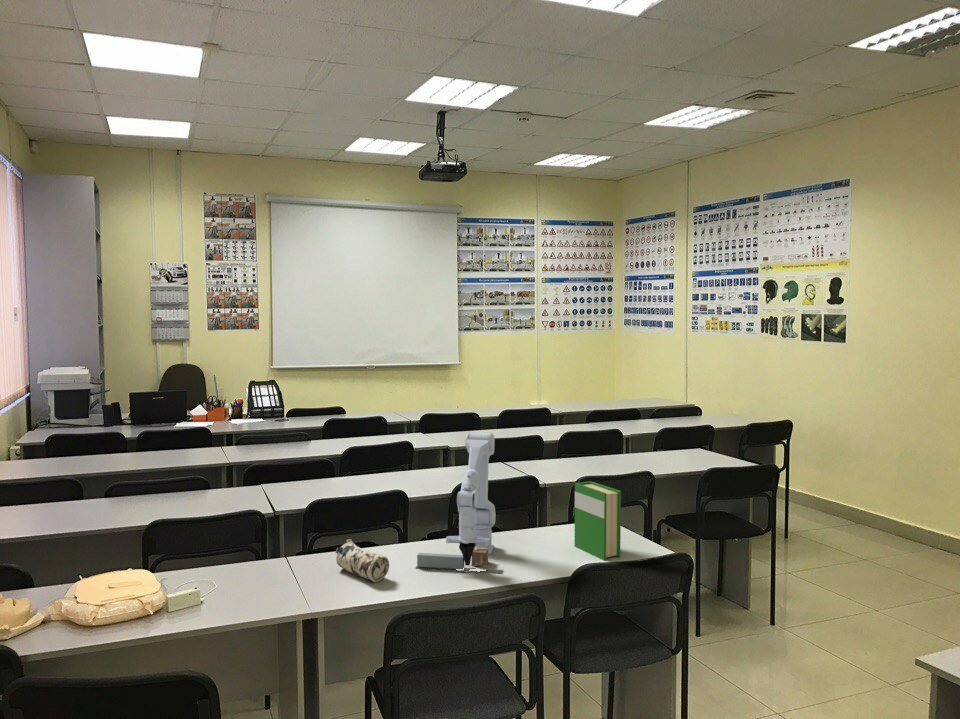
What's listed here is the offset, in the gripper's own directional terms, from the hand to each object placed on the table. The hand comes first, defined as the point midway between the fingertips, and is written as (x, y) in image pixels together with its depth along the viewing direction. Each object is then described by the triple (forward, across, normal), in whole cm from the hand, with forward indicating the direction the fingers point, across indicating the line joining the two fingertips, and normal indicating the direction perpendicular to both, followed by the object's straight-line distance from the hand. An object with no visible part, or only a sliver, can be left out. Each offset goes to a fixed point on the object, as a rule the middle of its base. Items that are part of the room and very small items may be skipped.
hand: (467, 564), depth 245 cm
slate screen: (+2, -9, 0) cm, 10 cm away
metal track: (+2, -3, 0) cm, 4 cm away
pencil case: (+2, -34, -10) cm, 35 cm away
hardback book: (+2, +43, +27) cm, 51 cm away
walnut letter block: (+2, +3, +7) cm, 8 cm away
